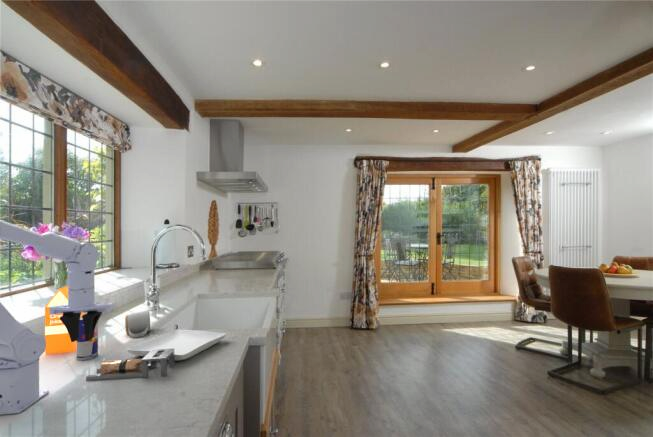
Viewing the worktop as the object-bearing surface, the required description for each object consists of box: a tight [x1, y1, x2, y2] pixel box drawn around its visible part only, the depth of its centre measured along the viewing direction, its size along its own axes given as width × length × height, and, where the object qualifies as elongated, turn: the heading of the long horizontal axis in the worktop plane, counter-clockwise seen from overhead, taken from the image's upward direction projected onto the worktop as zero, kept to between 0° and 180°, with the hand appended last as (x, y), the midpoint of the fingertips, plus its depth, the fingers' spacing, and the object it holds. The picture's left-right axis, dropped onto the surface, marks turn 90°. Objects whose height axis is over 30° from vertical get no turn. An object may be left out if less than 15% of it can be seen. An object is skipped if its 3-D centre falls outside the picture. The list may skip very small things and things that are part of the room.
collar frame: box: [85, 348, 176, 382], centre depth 93 cm, size 7×20×5 cm, turn 96°
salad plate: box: [126, 329, 227, 362], centre depth 110 cm, size 21×21×3 cm
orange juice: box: [44, 285, 85, 355], centre depth 114 cm, size 8×9×20 cm
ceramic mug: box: [124, 310, 151, 339], centre depth 127 cm, size 11×8×8 cm
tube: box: [99, 358, 143, 374], centre depth 93 cm, size 10×4×4 cm, turn 96°
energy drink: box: [75, 317, 99, 361], centre depth 105 cm, size 5×5×12 cm
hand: (81, 340), depth 91 cm, fingers open, 3 cm apart
